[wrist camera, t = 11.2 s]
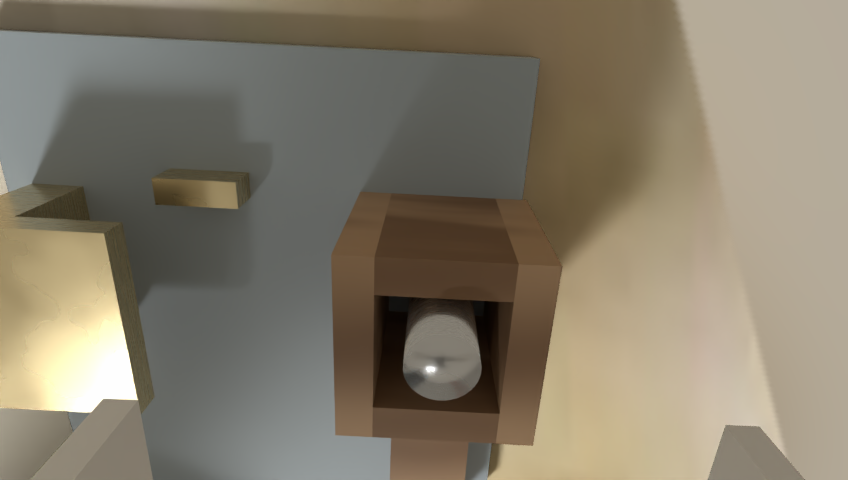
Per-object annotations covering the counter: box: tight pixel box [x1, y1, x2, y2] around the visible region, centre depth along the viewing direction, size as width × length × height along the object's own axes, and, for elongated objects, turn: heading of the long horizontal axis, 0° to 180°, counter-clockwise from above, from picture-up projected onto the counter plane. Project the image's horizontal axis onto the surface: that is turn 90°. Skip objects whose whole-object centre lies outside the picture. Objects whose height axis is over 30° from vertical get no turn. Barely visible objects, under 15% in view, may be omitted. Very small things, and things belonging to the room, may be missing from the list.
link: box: [331, 192, 562, 480], centre depth 20 cm, size 15×6×6 cm, turn 177°
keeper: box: [0, 168, 251, 414], centre depth 19 cm, size 8×8×4 cm
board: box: [0, 30, 540, 480], centre depth 22 cm, size 20×21×1 cm
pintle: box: [403, 297, 482, 400], centre depth 18 cm, size 2×2×7 cm
